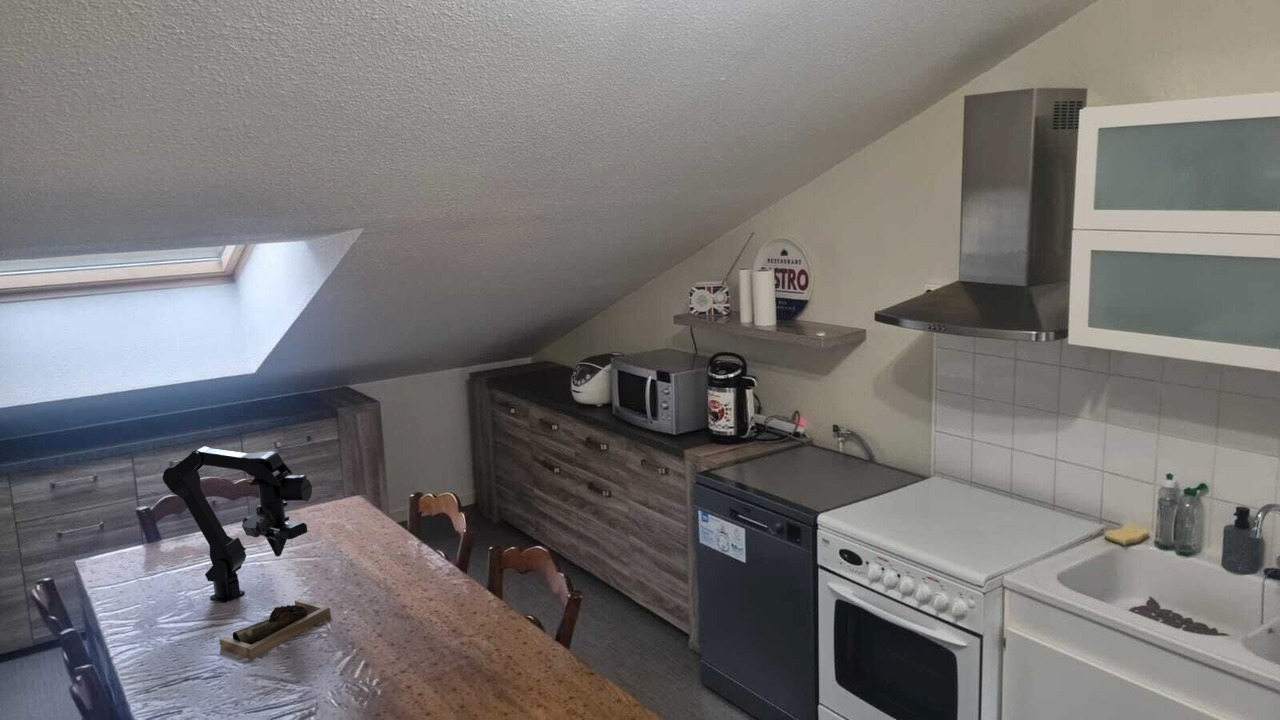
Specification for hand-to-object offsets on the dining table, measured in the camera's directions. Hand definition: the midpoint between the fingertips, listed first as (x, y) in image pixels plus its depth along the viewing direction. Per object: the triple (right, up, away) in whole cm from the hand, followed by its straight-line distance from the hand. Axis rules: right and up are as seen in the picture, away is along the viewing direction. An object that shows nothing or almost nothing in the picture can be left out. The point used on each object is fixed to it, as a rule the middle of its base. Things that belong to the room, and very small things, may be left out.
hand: (278, 555), depth 253 cm
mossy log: (+5, -16, -17) cm, 24 cm away
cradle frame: (+6, -15, -17) cm, 23 cm away
